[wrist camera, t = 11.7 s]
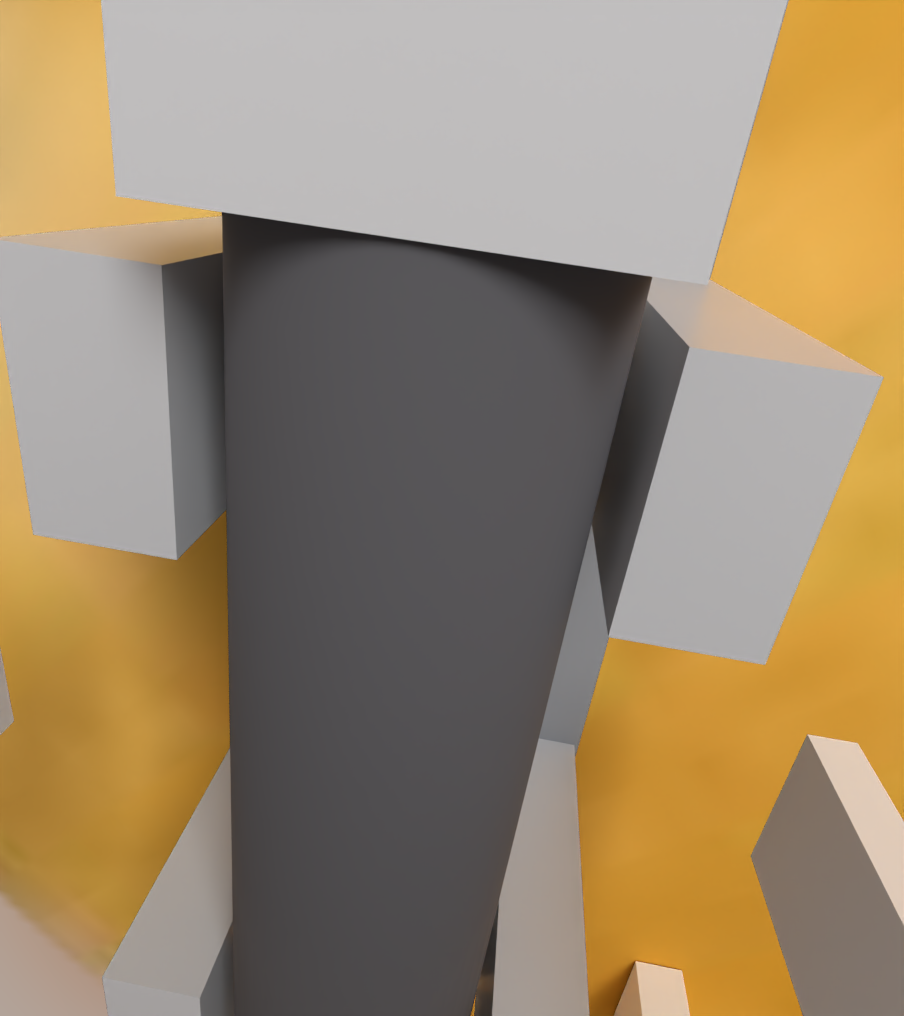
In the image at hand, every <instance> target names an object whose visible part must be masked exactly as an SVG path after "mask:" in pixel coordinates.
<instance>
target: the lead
mask: <svg viewBox="0 0 904 1016" xmlns="http://www.w3.org/2000/svg"><path fill="white" fill-rule="evenodd" d="M786 4H787V0H101V6H102V19H103V32H104V45H105V58H106V71H107V84H108V97H109V110H110V123H111V136H112V149H113V162H114V175H115V189H116V196H119V197H125V198H132V199H139V200H145V201H152V202H159V203H165V204H172V205H179V206H185V207H192V208H199V209H205V210H212V211H218V212H222V249H223V314H224V380H225V446H226V512H227V577H228V643H229V709H230V774H231V840H232V906H233V972H234V1016H470V1015H471V1011H472V1007H473V1003H474V999H475V995H476V991H477V987H478V983H479V979H480V975H481V971H482V967H483V962H484V958H485V954H486V950H487V946H488V942H489V938H490V934H491V930H492V926H493V922H494V918H495V914H496V910H497V906H498V902H499V898H500V894H501V889H502V885H503V881H504V877H505V873H506V869H507V865H508V861H509V857H510V853H511V849H512V845H513V841H514V837H515V833H516V829H517V825H518V821H519V816H520V812H521V808H522V804H523V800H524V796H525V792H526V788H527V784H528V780H529V776H530V772H531V768H532V764H533V760H534V756H535V752H536V748H537V743H538V739H539V735H540V731H541V727H542V723H543V719H544V715H545V711H546V707H547V703H548V699H549V695H550V691H551V687H552V683H553V679H554V675H555V670H556V666H557V662H558V658H559V654H560V650H561V646H562V642H563V638H564V634H565V630H566V626H567V622H568V618H569V614H570V610H571V606H572V602H573V597H574V593H575V589H576V585H577V581H578V577H579V573H580V569H581V565H582V561H583V557H584V553H585V549H586V545H587V541H588V537H589V533H590V529H591V524H592V520H593V516H594V512H595V508H596V504H597V500H598V496H599V492H600V488H601V484H602V480H603V476H604V472H605V468H606V464H607V460H608V456H609V451H610V447H611V443H612V439H613V435H614V431H615V427H616V423H617V419H618V415H619V411H620V407H621V403H622V399H623V395H624V391H625V387H626V383H627V378H628V374H629V370H630V366H631V362H632V358H633V354H634V350H635V346H636V342H637V338H638V334H639V330H640V326H641V322H642V318H643V314H644V309H645V305H646V301H647V297H648V293H649V289H650V285H651V281H652V277H657V278H664V279H671V280H677V281H684V282H691V283H697V284H704V285H708V281H709V278H710V274H711V271H712V267H713V263H714V260H715V256H716V253H717V249H718V246H719V242H720V239H721V235H722V231H723V228H724V224H725V221H726V217H727V214H728V210H729V207H730V203H731V199H732V196H733V192H734V189H735V185H736V182H737V178H738V175H739V171H740V168H741V164H742V160H743V157H744V153H745V150H746V146H747V143H748V139H749V136H750V132H751V128H752V125H753V121H754V118H755V114H756V111H757V107H758V104H759V100H760V96H761V93H762V89H763V86H764V82H765V79H766V75H767V72H768V68H769V64H770V61H771V57H772V54H773V50H774V47H775V43H776V40H777V36H778V32H779V29H780V25H781V22H782V18H783V15H784V11H785V8H786Z"/></svg>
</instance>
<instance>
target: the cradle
mask: <svg viewBox="0 0 904 1016" xmlns="http://www.w3.org/2000/svg"><path fill="white" fill-rule="evenodd" d="M788 1H789V0H787V4H788ZM787 4H786V8H787ZM786 8H785V11H786ZM785 11H784V15H785ZM784 15H783V18H784ZM783 18H782V22H783ZM782 22H781V25H782ZM781 25H780V29H781ZM780 29H779V32H780ZM779 32H778V36H779ZM778 36H777V40H778ZM777 40H776V43H777ZM776 43H775V47H776ZM775 47H774V50H775ZM774 50H773V54H774ZM773 54H772V57H773ZM772 57H771V61H772ZM771 61H770V64H771ZM770 64H769V68H770ZM769 68H768V72H769ZM768 72H767V75H768ZM767 75H766V79H767ZM766 79H765V82H766ZM765 82H764V86H765ZM764 86H763V89H764ZM763 89H762V93H763ZM762 93H761V96H762ZM761 96H760V100H761ZM760 100H759V103H760ZM758 107H759V104H758ZM758 107H757V111H758ZM757 111H756V114H757ZM756 114H755V118H756ZM755 118H754V121H755ZM754 121H753V125H754ZM753 125H752V128H753ZM752 128H751V132H752ZM751 132H750V135H751ZM749 139H750V136H749ZM749 139H748V142H749ZM747 146H748V143H747ZM747 146H746V150H747ZM746 150H745V153H746ZM745 153H744V157H745ZM744 157H743V160H744ZM743 160H742V164H743ZM742 164H741V167H742ZM740 171H741V168H740ZM740 171H739V174H740ZM738 178H739V175H738ZM738 178H737V181H738ZM736 185H737V182H736ZM736 185H735V189H736ZM735 189H734V192H735ZM734 192H733V196H734ZM733 196H732V199H733ZM732 199H731V203H732ZM731 203H730V206H731ZM729 210H730V207H729ZM729 210H728V213H729ZM727 217H728V214H727ZM727 217H726V220H727ZM725 224H726V221H725ZM725 224H724V228H725ZM724 228H723V231H724ZM723 231H722V235H723ZM722 235H721V238H722ZM720 242H721V239H720ZM720 242H719V245H720ZM718 249H719V246H718ZM718 249H717V252H718ZM716 256H717V253H716ZM716 256H715V259H716ZM714 263H715V260H714ZM714 263H713V267H714ZM713 267H712V270H713ZM711 274H712V271H711ZM711 274H710V277H711ZM0 323H1V329H2V336H3V342H4V349H5V355H6V361H7V368H8V374H9V381H10V387H11V394H12V400H13V407H14V413H15V419H16V426H17V432H18V439H19V445H20V452H21V458H22V465H23V471H24V477H25V484H26V490H27V497H28V503H29V510H30V516H31V523H32V529H33V535H38V536H44V537H50V538H55V539H61V540H67V541H72V542H78V543H83V544H89V545H95V546H100V547H106V548H111V549H117V550H123V551H128V552H134V553H140V554H145V555H151V556H156V557H162V558H168V559H173V560H177V559H178V558H179V557H180V556H181V555H182V554H183V553H184V552H185V551H186V550H187V549H188V548H189V547H190V546H191V545H192V544H193V543H194V542H195V541H196V540H197V539H198V538H199V537H200V536H201V535H202V534H203V533H204V532H205V531H206V530H207V529H208V528H209V527H210V526H211V525H212V524H213V523H214V522H215V521H216V520H217V519H218V518H219V517H220V516H221V515H222V513H223V512H224V511H225V510H226V446H225V380H224V314H223V249H222V216H217V217H206V218H196V219H185V220H174V221H164V222H153V223H143V224H132V225H121V226H111V227H100V228H90V229H79V230H68V231H58V232H47V233H36V234H26V235H15V236H5V237H0ZM883 378H884V377H882V376H881V375H879V374H877V373H875V372H873V371H872V370H870V369H868V368H866V367H865V366H863V365H861V364H859V363H857V362H856V361H854V360H852V359H850V358H849V357H847V356H845V355H843V354H841V353H840V352H838V351H836V350H834V349H833V348H831V347H829V346H827V345H825V344H824V343H822V342H820V341H818V340H816V339H815V338H813V337H811V336H809V335H808V334H806V333H804V332H802V331H800V330H799V329H797V328H795V327H793V326H792V325H790V324H788V323H786V322H784V321H783V320H781V319H779V318H777V317H776V316H774V315H772V314H770V313H768V312H767V311H765V310H763V309H761V308H760V307H758V306H756V305H754V304H752V303H751V302H749V301H747V300H745V299H744V298H742V297H740V296H738V295H736V294H735V293H733V292H731V291H729V290H728V289H726V288H724V287H722V286H720V285H719V284H717V283H715V282H713V281H712V280H710V278H709V281H708V285H704V284H697V283H691V282H684V281H677V280H671V279H664V278H657V277H652V281H651V285H650V289H649V293H648V297H647V301H646V305H645V309H644V314H643V318H642V322H641V326H640V330H639V334H638V338H637V342H636V346H635V350H634V354H633V358H632V362H631V366H630V370H629V374H628V378H627V383H626V387H625V391H624V395H623V399H622V403H621V407H620V411H619V415H618V419H617V423H616V427H615V431H614V435H613V439H612V443H611V447H610V451H609V456H608V460H607V464H606V468H605V472H604V476H603V480H602V484H601V488H600V492H599V496H598V500H597V504H596V508H595V512H594V516H593V520H592V524H591V529H590V533H589V537H588V541H587V545H586V549H585V553H584V557H583V561H582V565H581V569H580V573H579V577H578V581H577V585H576V589H575V593H574V597H573V602H572V606H571V610H570V614H569V618H568V622H567V626H566V630H565V634H564V638H563V642H562V646H561V650H560V654H559V658H558V662H557V666H556V670H555V675H554V679H553V683H552V687H551V691H550V695H549V699H548V703H547V707H546V711H545V715H544V719H543V723H542V727H541V731H540V735H539V739H538V743H537V748H536V752H535V756H534V760H533V764H532V768H531V772H530V776H529V780H528V784H527V788H526V792H525V796H524V800H523V804H522V808H521V812H520V816H519V821H518V825H517V829H516V833H515V837H514V841H513V845H512V849H511V853H510V857H509V861H508V865H507V869H506V873H505V877H504V881H503V885H502V889H501V894H500V898H499V902H498V906H497V910H496V914H495V918H494V922H493V926H492V930H491V934H490V938H489V942H488V946H487V950H486V954H485V958H484V962H483V967H482V971H481V975H480V979H479V983H478V987H477V991H476V1000H475V1013H474V1016H589V998H588V980H587V962H586V944H585V926H584V909H583V891H582V873H581V855H580V837H579V819H578V802H577V784H576V766H575V756H576V753H577V749H578V745H579V742H580V738H581V735H582V731H583V728H584V724H585V721H586V717H587V713H588V710H589V706H590V703H591V699H592V696H593V692H594V689H595V685H596V682H597V678H598V674H599V671H600V667H601V664H602V660H603V657H604V653H605V650H606V646H607V643H608V639H609V637H611V638H617V639H623V640H628V641H634V642H639V643H645V644H651V645H656V646H662V647H667V648H673V649H679V650H684V651H690V652H696V653H701V654H707V655H712V656H718V657H724V658H729V659H735V660H740V661H746V662H752V663H757V664H763V665H765V664H766V661H767V659H768V657H769V654H770V652H771V649H772V647H773V644H774V642H775V640H776V637H777V635H778V632H779V630H780V627H781V625H782V623H783V620H784V618H785V615H786V613H787V610H788V608H789V606H790V603H791V601H792V598H793V596H794V593H795V591H796V589H797V586H798V584H799V581H800V579H801V577H802V574H803V572H804V569H805V567H806V564H807V562H808V560H809V557H810V555H811V552H812V550H813V547H814V545H815V543H816V540H817V538H818V535H819V533H820V530H821V528H822V526H823V523H824V521H825V518H826V516H827V514H828V511H829V509H830V506H831V504H832V501H833V499H834V497H835V494H836V492H837V489H838V487H839V484H840V482H841V480H842V477H843V475H844V472H845V470H846V467H847V465H848V463H849V460H850V458H851V455H852V453H853V451H854V448H855V446H856V443H857V441H858V438H859V436H860V434H861V431H862V429H863V426H864V424H865V421H866V419H867V417H868V414H869V412H870V409H871V407H872V404H873V402H874V400H875V397H876V395H877V392H878V390H879V388H880V385H881V383H882V380H883ZM102 980H103V987H104V993H105V1000H106V1005H107V1013H108V1016H234V972H233V906H232V840H231V774H230V748H229V750H228V752H227V754H226V756H225V757H224V759H223V761H222V763H221V765H220V766H219V768H218V770H217V772H216V774H215V775H214V777H213V779H212V781H211V783H210V784H209V786H208V788H207V790H206V792H205V793H204V795H203V797H202V799H201V801H200V802H199V804H198V806H197V808H196V809H195V811H194V813H193V815H192V817H191V818H190V820H189V822H188V824H187V826H186V827H185V829H184V831H183V833H182V835H181V836H180V838H179V840H178V842H177V844H176V845H175V847H174V849H173V851H172V853H171V854H170V856H169V858H168V860H167V862H166V863H165V865H164V867H163V869H162V871H161V872H160V874H159V876H158V878H157V879H156V881H155V883H154V885H153V887H152V888H151V890H150V892H149V894H148V896H147V897H146V899H145V901H144V903H143V905H142V906H141V908H140V910H139V912H138V914H137V915H136V917H135V919H134V921H133V923H132V924H131V926H130V928H129V930H128V932H127V933H126V935H125V937H124V939H123V941H122V942H121V944H120V946H119V948H118V949H117V951H116V953H115V955H114V957H113V958H112V960H111V962H110V964H109V966H108V967H107V969H106V971H105V973H104V975H103V976H102Z"/></svg>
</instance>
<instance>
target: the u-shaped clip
mask: <svg viewBox="0 0 904 1016" xmlns="http://www.w3.org/2000/svg"><path fill="white" fill-rule="evenodd" d="M614 1016H690V1012H689V1007H688V1001H687V996H686V990H685V984H684V979H683V973H682V970H677V969H672V968H667V967H662V966H658V965H653V964H648V963H643V962H638V961H636V962H635V964H634V967H633V969H632V971H631V974H630V976H629V979H628V981H627V984H626V986H625V989H624V991H623V994H622V996H621V999H620V1001H619V1004H618V1006H617V1009H616V1011H615V1014H614Z"/></svg>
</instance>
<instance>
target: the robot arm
mask: <svg viewBox="0 0 904 1016" xmlns="http://www.w3.org/2000/svg"><path fill="white" fill-rule="evenodd" d="M13 722H14V718H13V713H12V708H11V702H10V697H9V692H8V686H7V681H6V676H5V670H4V665H3V660H2V654H1V649H0V735H1V734H2V733H3V732H4V731H5V730H6V729H7V728H8V727H9V726H10V725H11V724H12V723H13ZM751 858H752V861H753V864H754V867H755V870H756V873H757V876H758V879H759V882H760V885H761V889H762V892H763V895H764V898H765V901H766V904H767V907H768V910H769V913H770V916H771V919H772V922H773V925H774V928H775V931H776V934H777V937H778V941H779V944H780V947H781V950H782V953H783V956H784V959H785V962H786V965H787V968H788V971H789V974H790V977H791V980H792V983H793V986H794V989H795V992H796V996H797V999H798V1002H799V1005H800V1008H801V1011H802V1014H803V1016H904V821H903V819H902V818H901V816H900V814H899V813H898V811H897V809H896V807H895V806H894V804H893V802H892V801H891V799H890V797H889V796H888V794H887V792H886V790H885V789H884V787H883V785H882V784H881V782H880V780H879V778H878V777H877V775H876V773H875V772H874V770H873V768H872V767H871V765H870V763H869V761H868V760H867V758H866V756H865V755H864V753H863V751H862V750H861V748H860V746H859V744H858V743H854V742H848V741H843V740H837V739H831V738H826V737H820V736H814V735H808V734H807V736H806V738H805V741H804V743H803V745H802V747H801V749H800V751H799V754H798V756H797V758H796V760H795V762H794V764H793V766H792V769H791V771H790V773H789V775H788V777H787V779H786V781H785V784H784V786H783V788H782V790H781V792H780V794H779V796H778V799H777V801H776V803H775V805H774V807H773V809H772V811H771V814H770V816H769V818H768V820H767V822H766V824H765V826H764V829H763V831H762V833H761V835H760V837H759V839H758V841H757V844H756V846H755V848H754V850H753V852H752V854H751Z"/></svg>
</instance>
